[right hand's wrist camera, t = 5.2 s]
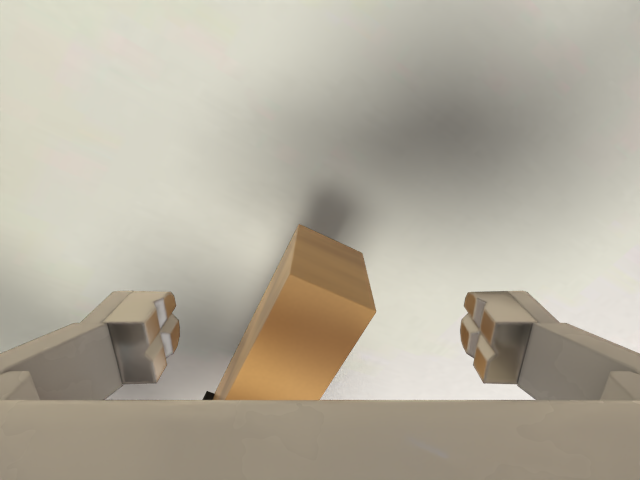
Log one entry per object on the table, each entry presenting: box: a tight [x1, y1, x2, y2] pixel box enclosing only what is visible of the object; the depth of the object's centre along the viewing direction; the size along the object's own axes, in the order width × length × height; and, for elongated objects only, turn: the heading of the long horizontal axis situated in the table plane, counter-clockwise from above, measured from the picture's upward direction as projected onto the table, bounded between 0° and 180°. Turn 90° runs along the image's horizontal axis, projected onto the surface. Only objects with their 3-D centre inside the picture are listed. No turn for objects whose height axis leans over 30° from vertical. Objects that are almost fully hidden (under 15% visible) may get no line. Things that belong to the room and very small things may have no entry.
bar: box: [213, 224, 376, 400], centre depth 27 cm, size 23×5×8 cm, turn 154°
